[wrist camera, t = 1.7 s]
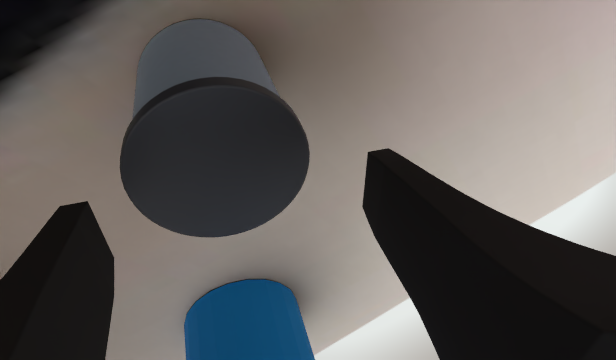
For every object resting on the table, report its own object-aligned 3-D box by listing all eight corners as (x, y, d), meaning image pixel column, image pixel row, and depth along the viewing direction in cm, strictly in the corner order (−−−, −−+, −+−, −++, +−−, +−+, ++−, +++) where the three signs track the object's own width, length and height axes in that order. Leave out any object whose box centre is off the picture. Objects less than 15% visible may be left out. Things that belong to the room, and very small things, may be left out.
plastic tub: (186, 159, 19) (196, 261, 14) (98, 60, 15) (71, 153, 10) (290, 100, 18) (335, 185, 14) (225, -16, 15) (256, 46, 10)
